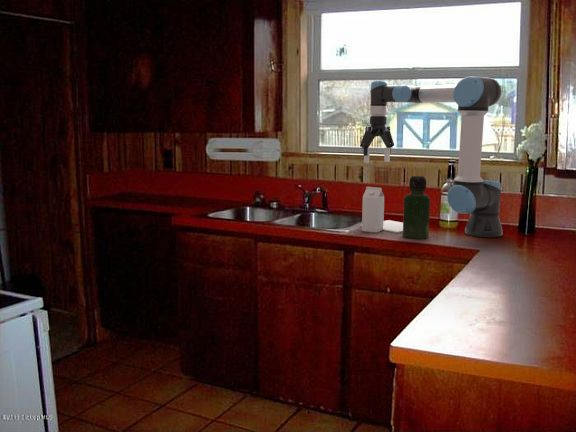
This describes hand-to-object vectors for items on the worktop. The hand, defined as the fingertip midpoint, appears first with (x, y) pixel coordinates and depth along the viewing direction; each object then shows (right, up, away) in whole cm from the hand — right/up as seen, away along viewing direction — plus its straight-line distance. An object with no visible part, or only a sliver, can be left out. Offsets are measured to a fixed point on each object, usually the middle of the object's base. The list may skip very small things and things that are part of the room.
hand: (376, 162), depth 288 cm
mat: (+6, -30, -8) cm, 31 cm away
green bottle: (+12, -33, -30) cm, 46 cm away
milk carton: (-4, -31, -17) cm, 36 cm away
